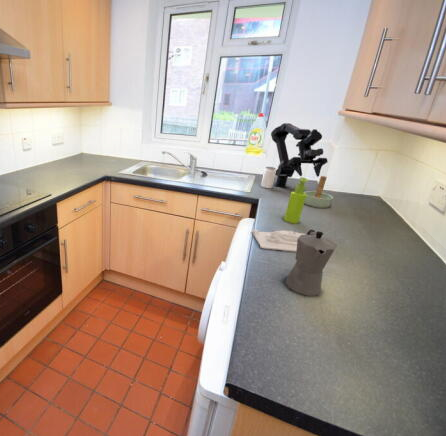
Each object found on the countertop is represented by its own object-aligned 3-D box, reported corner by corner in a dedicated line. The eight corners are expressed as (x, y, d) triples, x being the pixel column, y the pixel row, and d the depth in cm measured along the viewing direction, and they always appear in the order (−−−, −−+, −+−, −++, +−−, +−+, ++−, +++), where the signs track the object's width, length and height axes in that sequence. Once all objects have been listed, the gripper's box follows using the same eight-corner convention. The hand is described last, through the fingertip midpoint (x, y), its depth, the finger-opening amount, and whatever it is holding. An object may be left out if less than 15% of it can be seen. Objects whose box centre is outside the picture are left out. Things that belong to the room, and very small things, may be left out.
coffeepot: (325, 304, 80) (347, 245, 73) (287, 295, 83) (304, 238, 76) (314, 274, 94) (332, 223, 86) (281, 268, 97) (296, 217, 90)
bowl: (300, 198, 165) (302, 189, 163) (328, 202, 160) (330, 193, 158) (302, 205, 154) (304, 196, 152) (332, 210, 148) (335, 200, 147)
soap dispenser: (285, 223, 131) (297, 179, 124) (283, 217, 137) (294, 175, 130) (300, 225, 130) (313, 181, 122) (297, 219, 136) (309, 177, 128)
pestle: (310, 200, 159) (317, 174, 154) (320, 201, 157) (328, 176, 152) (311, 203, 155) (319, 177, 150) (321, 204, 153) (330, 178, 148)
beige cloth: (246, 234, 122) (248, 223, 120) (303, 234, 121) (306, 223, 119) (264, 254, 106) (266, 242, 104) (329, 254, 106) (332, 242, 104)
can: (269, 185, 186) (274, 166, 181) (273, 188, 180) (278, 169, 175) (259, 185, 186) (263, 166, 181) (262, 188, 180) (267, 168, 175)
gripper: (297, 142, 155) (301, 169, 151) (332, 143, 155) (337, 170, 151) (285, 152, 166) (289, 178, 162) (318, 153, 166) (322, 179, 162)
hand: (309, 176), depth 159 cm, fingers open, 9 cm apart
